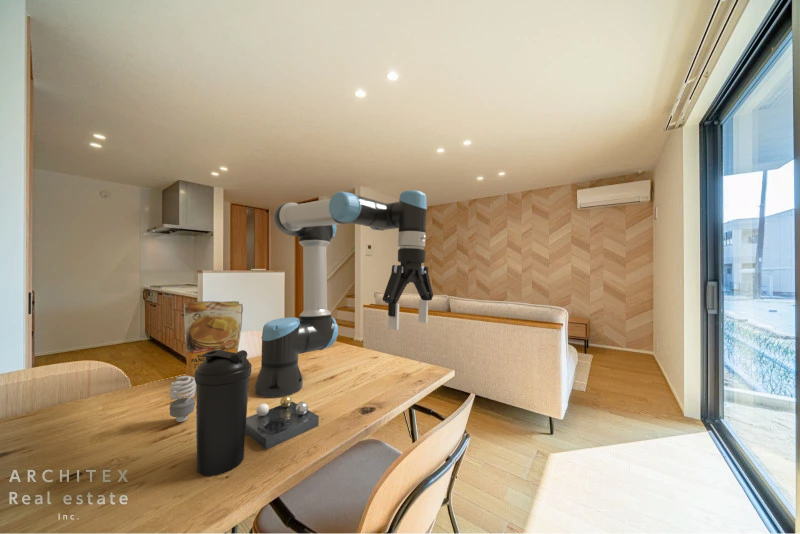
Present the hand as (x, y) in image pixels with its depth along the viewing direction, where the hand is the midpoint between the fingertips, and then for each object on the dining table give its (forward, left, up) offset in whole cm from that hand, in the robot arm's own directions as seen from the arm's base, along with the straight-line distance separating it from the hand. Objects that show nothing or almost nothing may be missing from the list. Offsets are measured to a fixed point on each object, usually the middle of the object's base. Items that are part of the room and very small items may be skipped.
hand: (409, 325), depth 80 cm
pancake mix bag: (-75, -23, -26) cm, 83 cm away
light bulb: (-44, -40, -26) cm, 65 cm away
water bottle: (-19, -39, -26) cm, 51 cm away
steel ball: (-20, -20, -22) cm, 36 cm away
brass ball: (-27, -20, -22) cm, 40 cm away
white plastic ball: (-27, -27, -22) cm, 44 cm away
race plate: (-23, -24, -26) cm, 42 cm away
